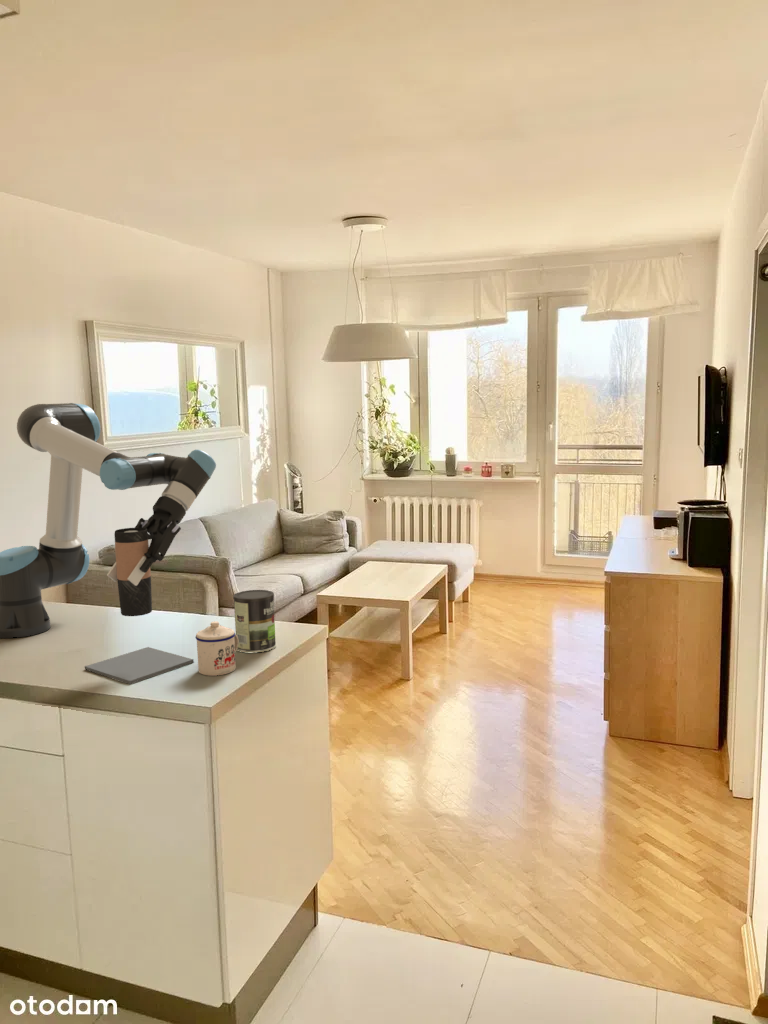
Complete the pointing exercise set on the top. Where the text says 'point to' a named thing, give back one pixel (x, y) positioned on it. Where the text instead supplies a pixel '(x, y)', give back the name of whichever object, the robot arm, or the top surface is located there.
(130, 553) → the travel mug
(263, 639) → the coffee can
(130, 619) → the top surface
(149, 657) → the pad
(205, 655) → the teacup with lid
